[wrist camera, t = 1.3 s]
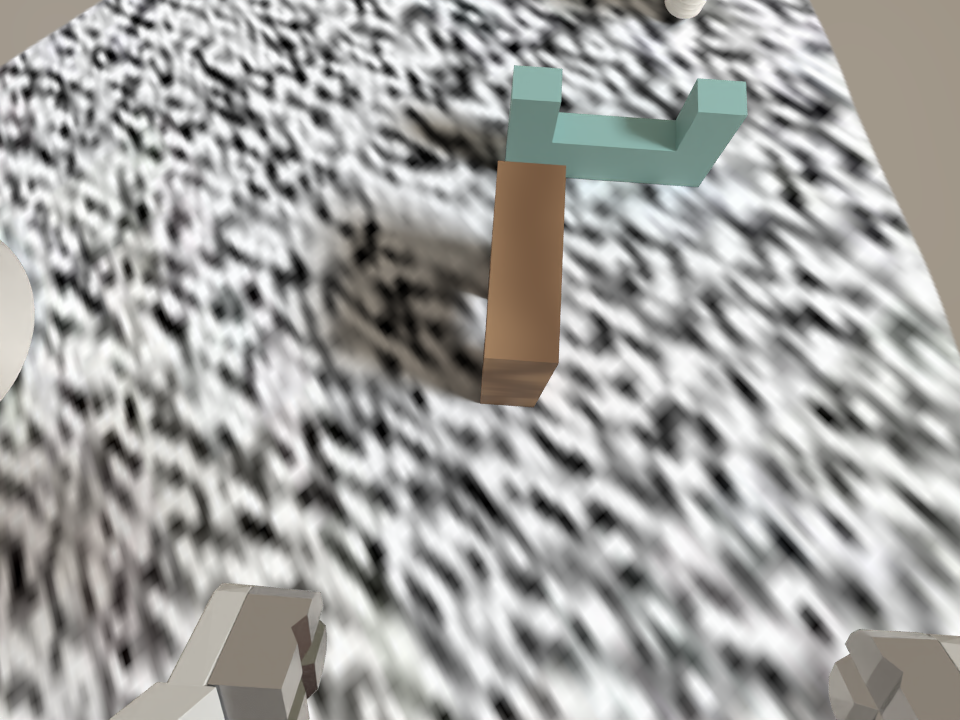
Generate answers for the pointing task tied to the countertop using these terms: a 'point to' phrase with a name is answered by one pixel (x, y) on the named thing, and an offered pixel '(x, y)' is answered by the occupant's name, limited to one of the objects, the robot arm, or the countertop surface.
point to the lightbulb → (684, 7)
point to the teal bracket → (622, 133)
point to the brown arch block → (524, 283)
